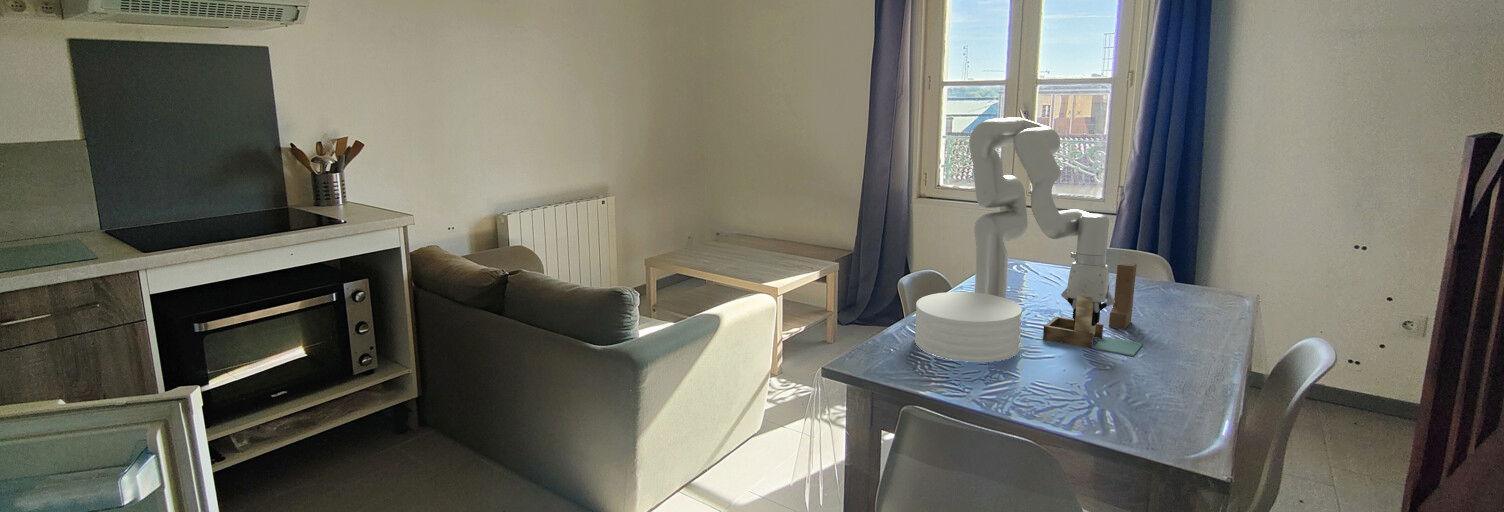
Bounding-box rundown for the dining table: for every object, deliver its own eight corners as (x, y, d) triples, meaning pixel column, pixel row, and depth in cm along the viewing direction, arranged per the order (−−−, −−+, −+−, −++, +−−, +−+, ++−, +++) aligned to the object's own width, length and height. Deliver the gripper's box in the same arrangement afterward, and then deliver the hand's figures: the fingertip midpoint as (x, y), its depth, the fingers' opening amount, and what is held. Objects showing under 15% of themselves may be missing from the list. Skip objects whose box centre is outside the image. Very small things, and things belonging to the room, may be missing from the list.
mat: (1093, 349, 211) (1093, 347, 211) (1104, 338, 220) (1104, 336, 220) (1133, 356, 205) (1133, 355, 205) (1142, 344, 214) (1142, 343, 214)
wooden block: (1124, 329, 226) (1130, 269, 222) (1108, 327, 229) (1113, 267, 225) (1131, 321, 233) (1136, 263, 229) (1115, 319, 236) (1120, 261, 232)
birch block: (1073, 337, 216) (1077, 295, 214) (1080, 331, 221) (1083, 290, 218) (1088, 339, 214) (1092, 297, 211) (1094, 334, 218) (1098, 292, 216)
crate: (1042, 339, 219) (1043, 326, 218) (1055, 329, 228) (1056, 316, 227) (1091, 348, 212) (1092, 334, 211) (1102, 337, 220) (1103, 324, 219)
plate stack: (1020, 334, 225) (1022, 295, 222) (1018, 368, 199) (1021, 325, 197) (921, 325, 234) (922, 288, 231) (908, 357, 208) (909, 316, 206)
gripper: (1055, 257, 215) (1050, 321, 219) (1120, 266, 205) (1114, 332, 209) (1063, 252, 220) (1058, 314, 225) (1127, 260, 210) (1121, 325, 214)
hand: (1085, 322), depth 217 cm, fingers closed on birch block, 4 cm apart
